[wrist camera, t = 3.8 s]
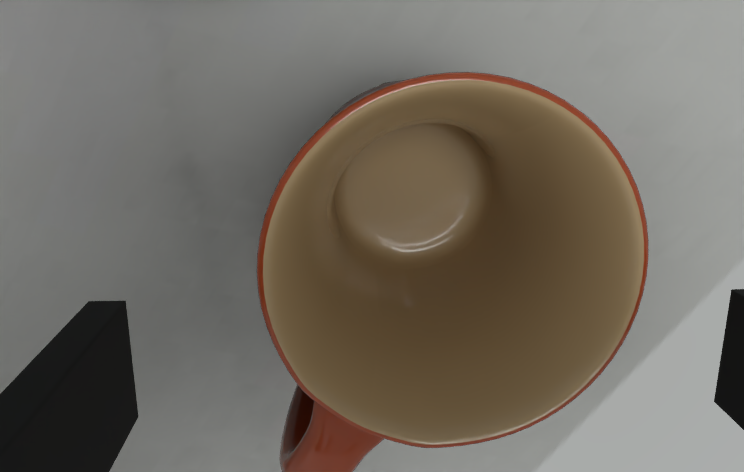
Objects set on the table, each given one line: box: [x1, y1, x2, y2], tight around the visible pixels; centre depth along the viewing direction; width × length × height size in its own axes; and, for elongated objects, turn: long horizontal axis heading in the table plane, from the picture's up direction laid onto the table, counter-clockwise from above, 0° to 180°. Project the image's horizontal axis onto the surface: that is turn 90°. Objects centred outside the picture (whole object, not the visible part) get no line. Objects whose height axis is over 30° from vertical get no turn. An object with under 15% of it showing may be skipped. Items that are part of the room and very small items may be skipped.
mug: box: [257, 72, 648, 472], centre depth 20 cm, size 12×9×10 cm
